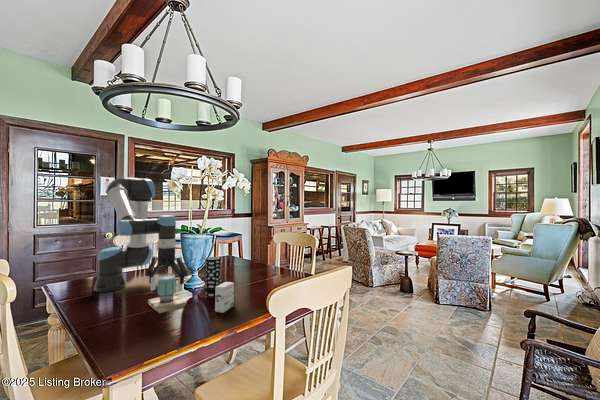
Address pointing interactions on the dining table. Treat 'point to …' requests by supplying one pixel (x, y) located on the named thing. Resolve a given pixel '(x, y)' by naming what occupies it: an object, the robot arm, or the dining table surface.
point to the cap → (166, 285)
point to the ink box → (224, 297)
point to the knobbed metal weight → (166, 298)
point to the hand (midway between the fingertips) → (166, 290)
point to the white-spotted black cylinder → (212, 275)
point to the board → (166, 304)
